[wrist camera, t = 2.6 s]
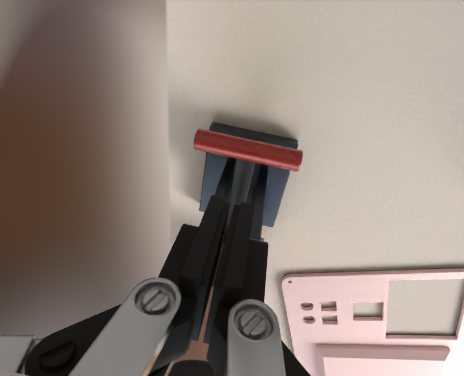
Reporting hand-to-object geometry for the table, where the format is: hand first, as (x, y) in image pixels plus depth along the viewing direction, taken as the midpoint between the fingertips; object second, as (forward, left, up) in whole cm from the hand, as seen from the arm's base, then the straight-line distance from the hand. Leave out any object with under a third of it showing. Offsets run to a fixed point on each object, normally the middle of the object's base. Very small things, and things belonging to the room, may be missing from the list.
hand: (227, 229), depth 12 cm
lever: (+5, -2, -11) cm, 12 cm away
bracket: (+11, -4, -24) cm, 27 cm away
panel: (+46, +15, -24) cm, 54 cm away
